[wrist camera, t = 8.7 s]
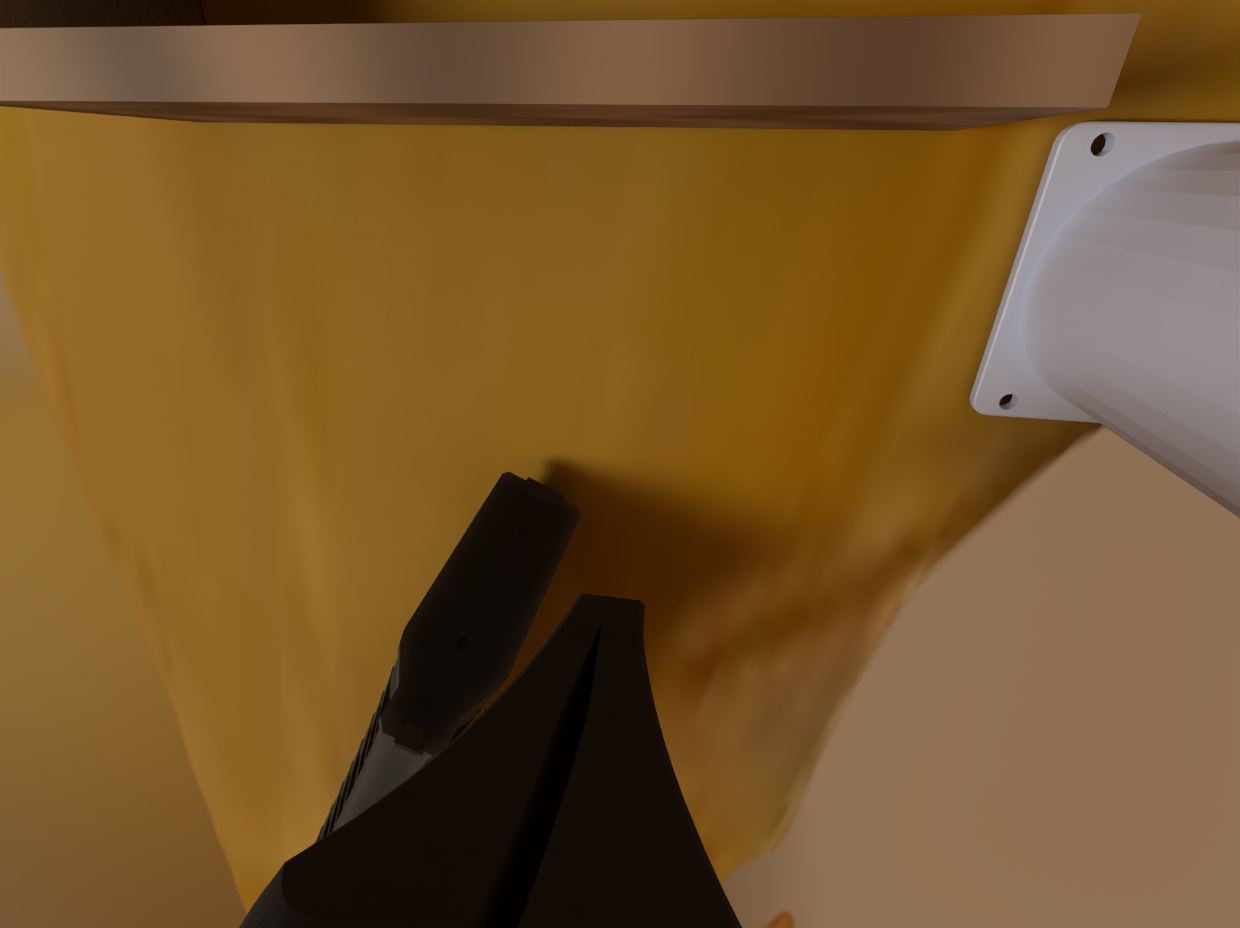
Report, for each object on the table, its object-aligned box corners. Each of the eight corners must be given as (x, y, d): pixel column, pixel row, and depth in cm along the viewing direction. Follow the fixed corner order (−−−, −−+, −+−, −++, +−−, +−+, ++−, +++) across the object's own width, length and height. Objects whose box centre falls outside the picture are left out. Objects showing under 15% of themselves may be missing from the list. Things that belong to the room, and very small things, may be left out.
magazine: (433, 546, 13) (68, 1272, 19) (558, 609, 13) (159, 1304, 19) (542, 426, 30) (328, 835, 36) (597, 455, 30) (375, 856, 36)
